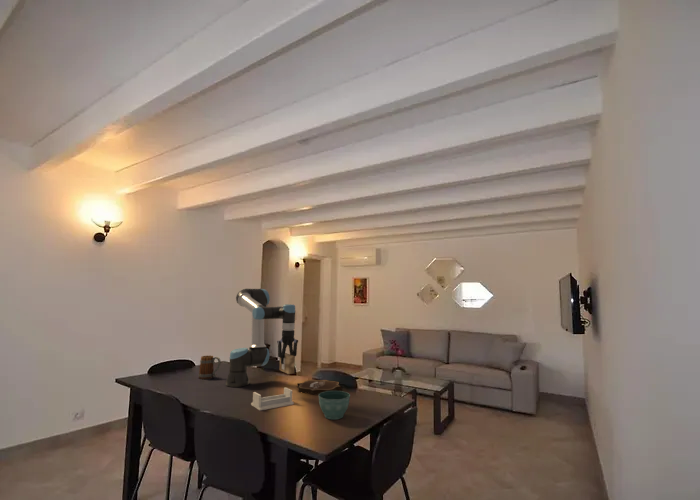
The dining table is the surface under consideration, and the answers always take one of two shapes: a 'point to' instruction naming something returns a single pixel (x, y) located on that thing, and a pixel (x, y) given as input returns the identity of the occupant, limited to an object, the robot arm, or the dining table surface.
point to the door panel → (288, 364)
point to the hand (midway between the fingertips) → (286, 368)
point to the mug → (208, 367)
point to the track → (272, 400)
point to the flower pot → (334, 403)
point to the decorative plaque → (318, 386)
